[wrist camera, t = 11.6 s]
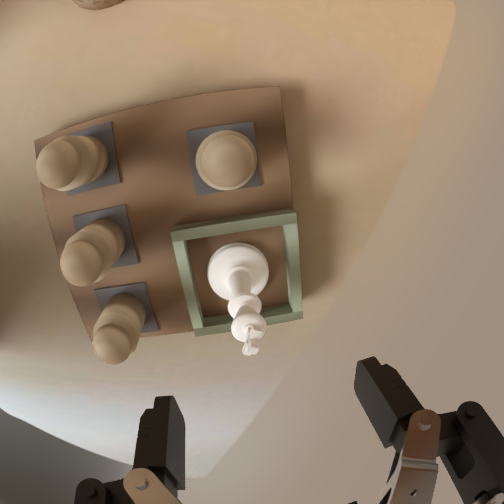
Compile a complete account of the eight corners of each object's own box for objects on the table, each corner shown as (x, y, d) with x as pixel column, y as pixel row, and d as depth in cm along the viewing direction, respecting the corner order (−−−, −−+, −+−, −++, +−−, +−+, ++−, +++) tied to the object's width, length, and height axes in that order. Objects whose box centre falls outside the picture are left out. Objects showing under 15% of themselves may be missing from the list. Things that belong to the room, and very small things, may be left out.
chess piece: (199, 289, 24) (194, 374, 15) (218, 234, 23) (222, 298, 13) (255, 304, 25) (278, 389, 16) (277, 252, 24) (316, 322, 14)
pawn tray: (45, 140, 20) (-15, 144, 12) (274, 90, 21) (305, 64, 13) (97, 330, 26) (69, 387, 18) (294, 302, 28) (323, 359, 20)
